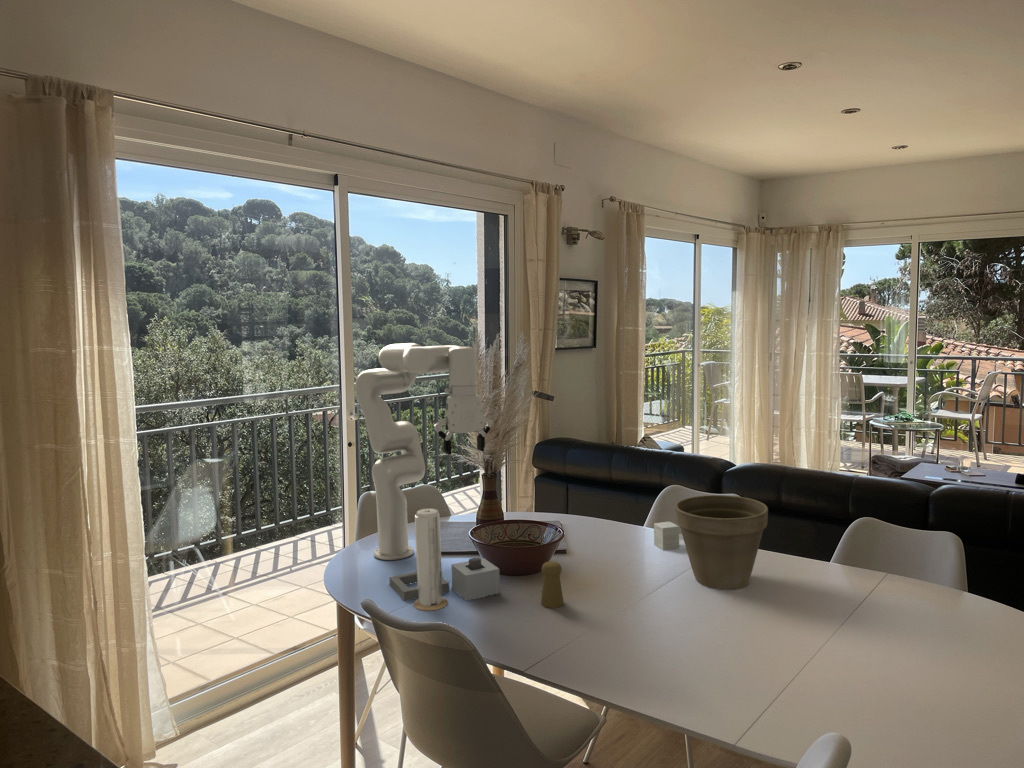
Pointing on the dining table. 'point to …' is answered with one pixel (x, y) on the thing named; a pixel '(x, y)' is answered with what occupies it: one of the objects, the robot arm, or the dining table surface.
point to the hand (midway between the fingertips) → (464, 452)
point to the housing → (475, 580)
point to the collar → (401, 580)
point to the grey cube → (666, 535)
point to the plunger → (474, 563)
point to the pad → (431, 607)
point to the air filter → (428, 557)
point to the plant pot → (721, 537)
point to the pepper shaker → (551, 585)
